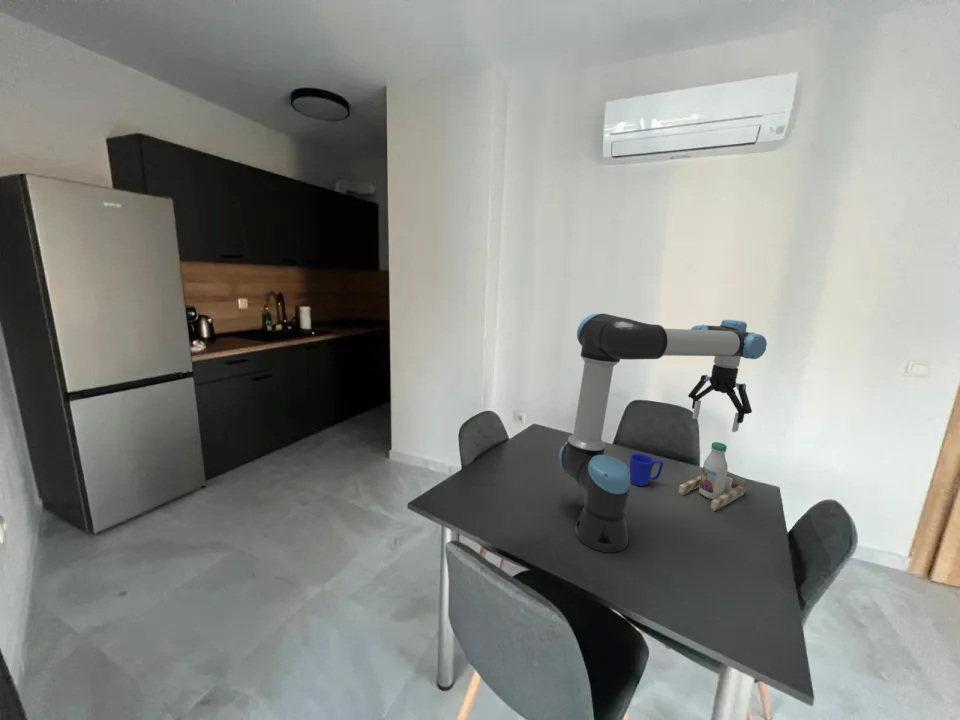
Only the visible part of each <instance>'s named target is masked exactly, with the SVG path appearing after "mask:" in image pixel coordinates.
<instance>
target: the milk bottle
mask: <svg viewBox="0 0 960 720" xmlns="http://www.w3.org/2000/svg"><path fill="white" fill-rule="evenodd" d="M727 448H728V447H727V444H725V443H722V442H718V441H717V442H716V441H715V442H712V443H711V450H710V452H709V454H708V455H707V457H706V458H705V460H704V462H703V464H702V469H701V474H700V476H701V480H700V486H699V488H698V493H699V492H700V493H701V494H703V495H704V496H707V497H710V498H718V497H719V496H721V495H723V493H724V488H725V482H726V477H727V471H728V467H729V466H728V462H727V459H726V452H727Z"/></svg>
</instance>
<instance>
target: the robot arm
mask: <svg viewBox="0 0 960 720" xmlns="http://www.w3.org/2000/svg"><path fill="white" fill-rule="evenodd" d="M720 323H721V324H720V325H705V324H700V325H698V324H697V325H695V326H693V327H691V328H689V329H687V328H686V329H683V328H665V327H664V326H662V325H660V324H655V323H654V324H652V323H645V322H641V321H637V320H634V319H630V318H627V317H620V316H616V315H611V314H608V313H599V312H598V313H597V312H596V313H592V314H589V315H588V316H587V317H584V319H582V321H581V322H580V323H579V325H578V326H577V327H578V328H577V331H576V332H577V333H576V338H577V341H578V342H579V344H580V346H581V350H580V352H581V353H580V357H581V359H582V360H583V362H584V363H583V364H584V365H583V372H582V377H581V383H580V384H581V385H580V391H579V397H578V405H577V409H576V410H577V411H576V417H575V422H574V428H573V429H574V430H573V434H571V435H569V436H568V439H567V441H566V442H565V443H564V445H562V446H561V448H560V450H559V454H558V463H559V465H560V468H561V469H562V471H563V472H564V473H565V474H566V475H567V476H568V477H569V478H570V479H571V480H572V481H574V483H575V484H576V485H578V486H579V488H581V489H582V490H583V492H584V493H585V495H584V502H583V503H584V504H583V505H584V506H583V509H582V510H581V512H580V514H579V516H578V518H577V520H576V522H575V529H574V532H575V535H576V537H577V539H578V540H579V541H580V542H581V543H582V544H583V545H585V546H586V547H589V548H590V549H593V550H595V551H597V552H598V551H599V552H603V553H617V552H622V551H623V550H624V549H626V547H627V546H628V542H629V531H628V529H627V528H628V527H627V522H626V511H627V506H628V499H629V492H630V487H631V481H630V467H628V465H627V464H626V463H625V462H623V461H622V460H620V459H619V458H617V457H613V456H612V455H607V454H605V448H606V444H605V443H604V441H603V439H602V438H603V437H602V435H603V431H604V424H605V418H606V413H607V406H608V400H609V394H610V389H611V383H612V376H613V371H614V367H615V366H616V365H617V364H619V363H620V361H621V360H631V361H632V360H658V359H659V360H660V359H661V358H663V357H665V356H671V357H672V356H674V357H675V356H677V357H678V356H679V357H681V356H682V357H686V356H687V357H696V356H697V357H714V359H713V365H712V370H711V376H709V375H708V374H702V375H701V376H700V378H699V379H700V380H699V381H698V382H697V383H696V385H695V386H694V388H692V390H691V391H690V392H689V394H688V395H687V396H688V398H690V399H692V404H691V408H692V410H693V413H692V419H693V420H695V419H699V415H700V412H701V411H700V410H701V404H702V400H701V399H702V398H703V397H705V396H706V395H707V394H709V393H710V392H712V391H713V390H714V392H718V393H722V394H726V395H727V396H728V397H729V400H730V401H731V402H732V404H733V406H734V408H735V409H736V410H737V412H735V414H734V418H733V424H732V428H731V432H732V433H737V432H738V431H739V427H740V424H743V422H744V419H745V415H748V414H751V413H753V410H752V407H751V404H750V400H749V397H748V394H747V391H746V390H747V385H746V383H738V382H737V378H738V373H739V368H738V367H740V365H741V364H740V363H741V358H744V359H750V360H756V359H757V360H758V359H760V358H761V357H762V356H763V355H764V354H765V352H766V351H767V345H768V343H767V339H766V337H765V336H764V335H762V334H759V333H755V332H749V331H747V328H748V327H747V326H748V325H747V323H746V322H745V321H743V320H742V321H741V320H736V319H722V321H721V322H720ZM708 381H709V383H710V385H709V386H707V387H705V389H704V390H702V391H701V389H702V388H703V387H704V386H705V385H706V383H707V382H708ZM735 388H736V389H737V391H738V395H739V397H738V396H737V394H736V391H735Z"/></svg>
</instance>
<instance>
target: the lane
mask: <svg viewBox="0 0 960 720" xmlns="http://www.w3.org/2000/svg"><path fill="white" fill-rule="evenodd" d="M727 477H730V478H732V479H733V480H732V485H731V487H732V488H734V489H732V490H730V491H729V492H727V493H725V494H723V495H721V496H719V497H718V498H716V499H714V500H711V504H710V508H712V509H714V510H716V509H717V508H719V507H721V506H722V505H723V504H725V503H726V502H728V501H729V500H731V499H732V498H734V497H735V496H737V495H739V494H740V493H741V492H743V491H744V490H746V491H747V486H748V482H749V480H748V479H747V478H745V477H742V476H740V475H737V474H734V473H732V472H730V471H728V470H727ZM700 480H701V475H699V476H697V477H695V478H692V479H690V480H688V481H686V482H684V483H682V484H679V487H678V492H677V494H678V493H680V494H684V493H686V492H688V491H690V490H692V489H694V488H695V487H697V486H699V485H700Z"/></svg>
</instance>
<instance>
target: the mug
mask: <svg viewBox="0 0 960 720" xmlns="http://www.w3.org/2000/svg"><path fill="white" fill-rule="evenodd" d="M629 458H630V460H629V470H630V483H632V484H633V485H636V486H641V487H644V486H645V487H646V486H647V485H648V484H649V481H650V480H652V481H655V480H658V479H659V478H660V475H661V473H662V470H663V467H664V462H663V461H662V460H656V459H655V460H654V458H652V457H651V456H649V455H646V454H643V453H633V454H631V455H630V457H629ZM655 464H660V465H659V468H658V472H657V473H656V475H655V476H654V477H651V474H652V471H653V467H654V465H655Z"/></svg>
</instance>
